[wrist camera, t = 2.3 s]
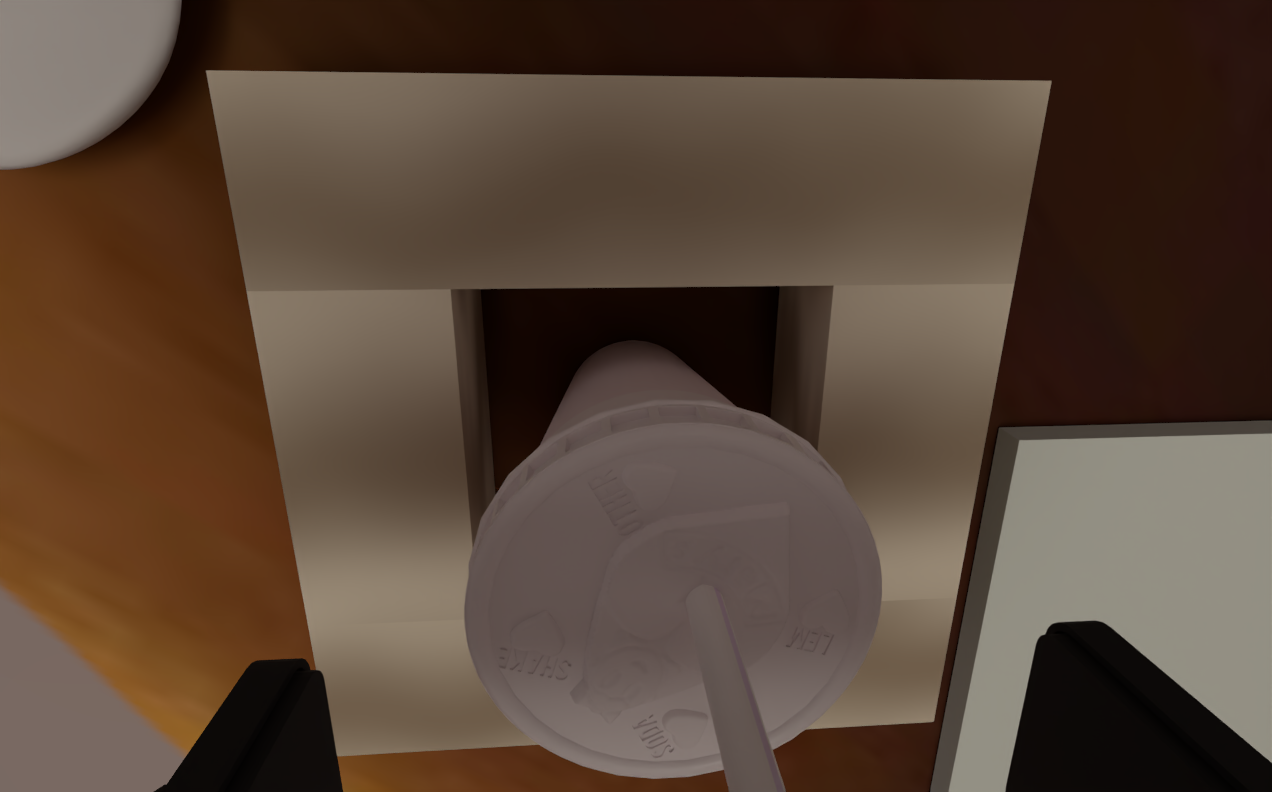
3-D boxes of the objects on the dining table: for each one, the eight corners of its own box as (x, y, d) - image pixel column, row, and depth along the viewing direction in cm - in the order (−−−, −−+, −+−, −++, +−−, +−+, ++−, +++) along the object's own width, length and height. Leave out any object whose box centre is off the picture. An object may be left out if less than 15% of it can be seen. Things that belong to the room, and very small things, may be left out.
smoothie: (789, 387, 19) (1235, 866, 6) (645, 543, 21) (756, 1215, 7) (617, 241, 18) (719, 470, 4) (471, 421, 19) (216, 1010, 6)
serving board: (999, 427, 20) (1019, 440, 19) (1426, 416, 21) (1466, 428, 20) (916, 862, 26) (929, 888, 25) (1255, 837, 27) (1279, 861, 26)
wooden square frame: (294, 92, 16) (205, 69, 12) (948, 99, 17) (1051, 80, 13) (376, 650, 21) (332, 756, 17) (874, 627, 22) (933, 721, 19)
